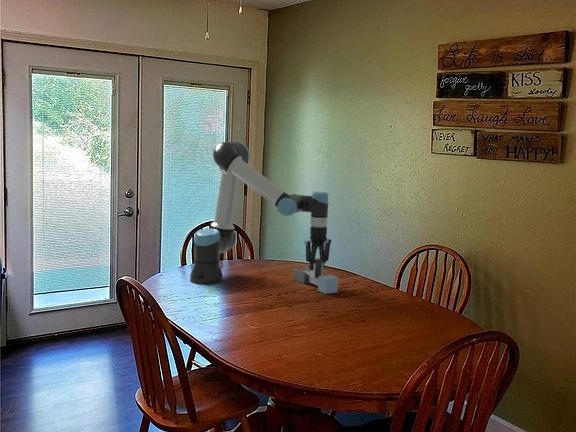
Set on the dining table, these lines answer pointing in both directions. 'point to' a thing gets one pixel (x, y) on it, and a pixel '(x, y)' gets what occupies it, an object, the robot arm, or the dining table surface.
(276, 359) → the dining table surface
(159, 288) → the dining table surface
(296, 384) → the dining table surface
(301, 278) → the open u-shaped channel
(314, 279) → the gray bent bar
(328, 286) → the socket
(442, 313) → the dining table surface
